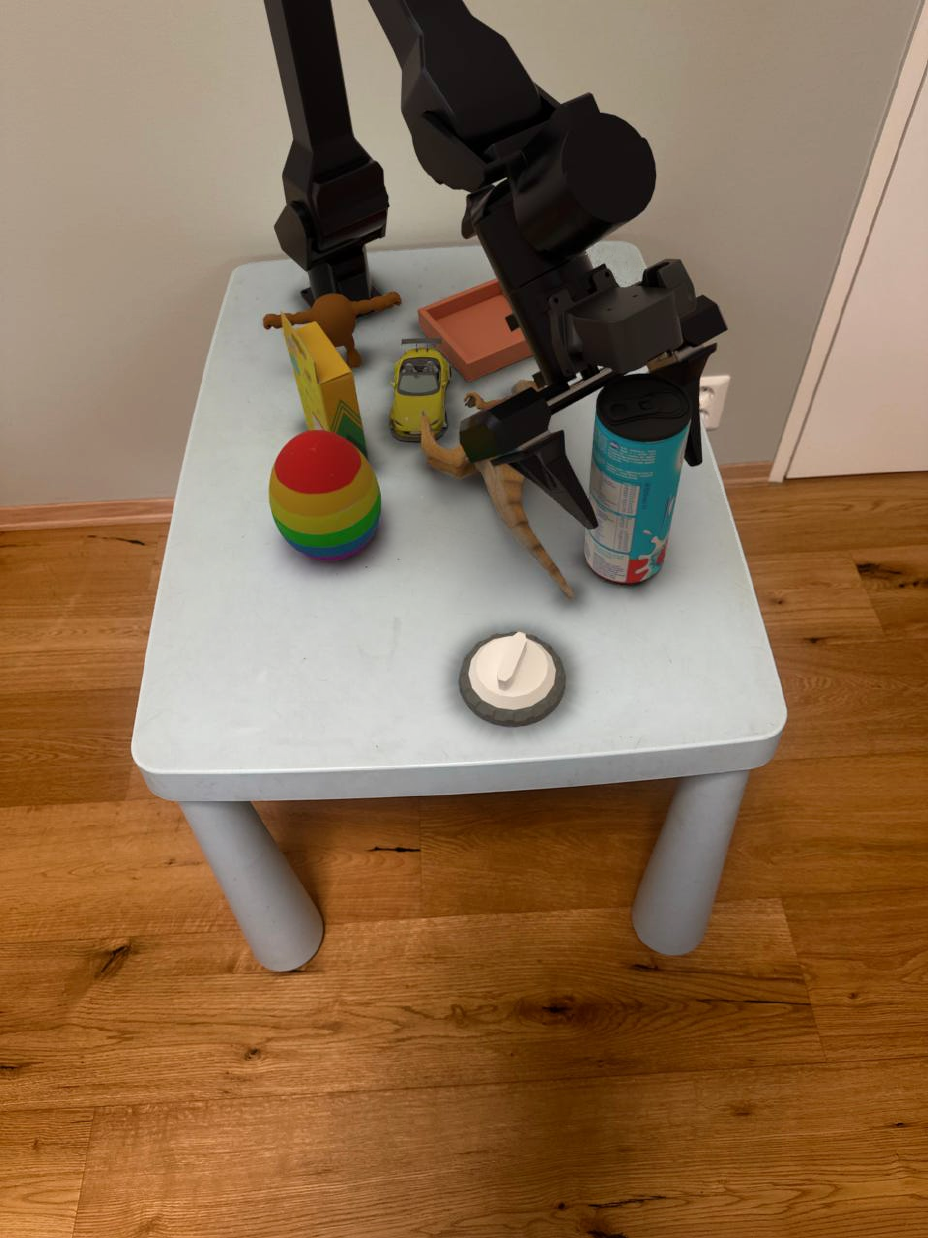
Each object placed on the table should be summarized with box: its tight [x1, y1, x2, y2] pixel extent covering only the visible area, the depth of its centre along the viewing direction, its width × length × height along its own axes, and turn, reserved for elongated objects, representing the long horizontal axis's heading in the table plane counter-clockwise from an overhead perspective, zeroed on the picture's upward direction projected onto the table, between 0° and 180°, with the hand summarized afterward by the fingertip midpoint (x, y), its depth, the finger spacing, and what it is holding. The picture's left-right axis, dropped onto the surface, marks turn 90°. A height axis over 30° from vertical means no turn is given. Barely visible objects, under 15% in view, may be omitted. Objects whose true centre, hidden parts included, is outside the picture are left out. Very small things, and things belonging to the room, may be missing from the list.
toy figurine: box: [262, 290, 403, 369], centre depth 81 cm, size 12×4×7 cm, turn 102°
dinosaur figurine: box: [420, 379, 574, 601], centre depth 72 cm, size 7×22×12 cm
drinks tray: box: [417, 277, 533, 383], centre depth 85 cm, size 9×9×2 cm
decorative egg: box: [268, 430, 382, 562], centre depth 68 cm, size 8×8×10 cm
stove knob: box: [458, 631, 566, 727], centre depth 63 cm, size 7×7×3 cm
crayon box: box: [280, 310, 370, 463], centre depth 73 cm, size 7×3×12 cm, turn 27°
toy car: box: [388, 337, 453, 442], centre depth 79 cm, size 5×10×3 cm, turn 178°
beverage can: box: [583, 372, 693, 586], centre depth 63 cm, size 6×6×15 cm
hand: (646, 496), depth 62 cm, fingers open, 9 cm apart
